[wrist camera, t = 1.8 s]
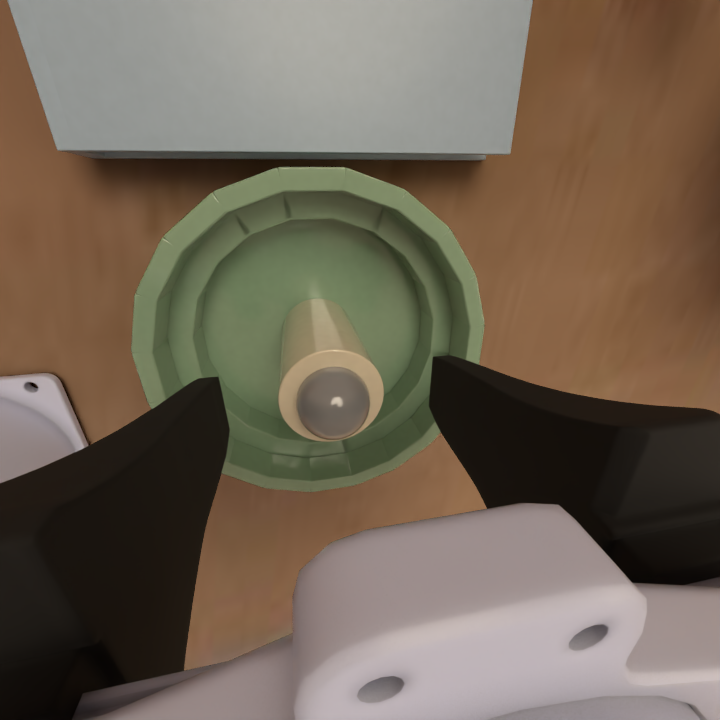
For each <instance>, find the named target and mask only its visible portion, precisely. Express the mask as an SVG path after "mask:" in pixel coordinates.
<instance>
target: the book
mask: <svg viewBox="0 0 720 720" xmlns="http://www.w3.org/2000/svg"><path fill="white" fill-rule="evenodd" d="M532 2H533V0H8V3H9V6H10V9H11V12H12V15H13V18H14V21H15V24H16V27H17V30H18V33H19V36H20V39H21V42H22V45H23V48H24V51H25V54H26V57H27V60H28V64H29V67H30V70H31V73H32V76H33V79H34V82H35V85H36V88H37V91H38V94H39V97H40V100H41V103H42V106H43V109H44V112H45V115H46V118H47V121H48V124H49V127H50V130H51V133H52V136H53V139H54V142H55V145H56V148H57V150H58V151H63V152H68V153H72V154H76V155H81V156H85V157H89V158H99V159H296V160H485V159H486V155H509V154H510V152H511V145H512V138H513V131H514V124H515V118H516V111H517V104H518V97H519V91H520V84H521V77H522V70H523V63H524V57H525V50H526V43H527V36H528V29H529V23H530V16H531V9H532Z"/></svg>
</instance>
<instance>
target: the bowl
mask: <svg viewBox="0 0 720 720" xmlns="http://www.w3.org/2000/svg"><path fill="white" fill-rule="evenodd" d="M475 275H476V274H475V272H474V270H473V268H472V266H471V264H470V263H469V261H468V259H467V257H466V256H465V254H464V252H463V250H462V248H461V247H460V245H459V243H458V241H457V239H456V238H455V236H454V234H453V232H452V230H451V229H450V228H449V227H448V226H447V225H446V224H445V223H444V222H443V221H441V220H440V219H439V218H438V217H437V216H436V215H434V214H433V213H432V212H431V211H430V210H429V209H428V208H426V207H425V206H424V205H423V204H422V203H421V202H419V201H418V200H417V199H416V198H415V197H414V196H412V195H411V194H410V193H409V192H408V191H405V189H403V188H400V187H398V186H395V185H392V184H389V183H387V182H384V181H381V180H379V179H376V178H373V177H371V176H368V175H365V174H363V173H360V172H357V171H355V170H352V169H349V168H345V167H278V168H273V169H271V170H268V171H265V172H263V173H260V174H257V175H255V176H252V177H249V178H247V179H244V180H241V181H239V182H236V183H233V184H231V185H228V186H225V187H223V188H220V189H217V190H215V191H213V193H210V194H209V195H208V196H207V197H206V198H204V199H203V200H202V201H201V202H200V203H199V204H198V205H197V206H196V207H194V208H193V209H192V210H191V211H190V212H189V213H188V214H187V215H186V216H184V217H183V218H182V219H181V220H180V221H179V222H178V223H177V224H176V225H174V226H173V227H172V228H171V229H170V230H169V231H168V232H167V233H166V234H164V236H163V238H161V240H160V242H159V244H158V246H157V248H156V250H155V252H154V254H153V256H152V259H151V261H150V263H149V265H148V267H147V269H146V271H145V273H144V275H143V277H142V279H141V281H140V283H139V285H138V287H137V290H136V292H135V293H136V294H135V295H134V310H133V327H132V343H131V352H132V356H133V359H134V362H135V365H136V368H137V371H138V374H139V377H140V380H141V384H142V387H143V390H144V393H145V396H146V399H147V402H148V403H149V406H150V407H151V408H152V409H153V408H155V407H156V406H158V405H159V404H160V403H162V402H163V401H165V400H166V399H168V398H169V397H170V396H172V395H173V394H175V393H176V392H178V391H179V390H180V389H182V388H183V387H185V386H186V385H188V384H189V383H191V382H192V381H194V380H196V379H198V378H207V377H218V376H219V381H220V385H221V390H222V395H223V399H224V404H225V409H226V414H227V418H228V423H229V428H230V432H229V440H228V448H227V454H226V459H225V462H224V466H223V469H222V474H225V475H228V476H231V477H233V478H236V479H239V480H242V481H245V482H248V483H251V484H253V485H256V486H259V487H262V488H267V489H278V490H290V491H302V492H316V491H323V490H329V489H336V488H343V487H349V486H354V485H357V484H360V483H362V482H365V481H367V480H370V479H372V478H375V477H377V476H380V475H382V474H385V473H387V472H390V471H392V470H394V469H395V468H397V467H399V466H400V465H402V464H403V463H404V462H406V461H407V460H409V459H410V458H411V457H413V456H414V455H416V454H417V453H418V452H420V451H421V450H423V449H424V448H425V447H427V446H428V445H430V443H432V442H433V441H434V439H435V438H436V437H437V436H438V435H439V434H440V432H441V431H440V430H439V428H438V426H437V424H436V422H435V420H434V418H433V415H432V413H431V411H430V408H429V395H430V383H431V371H432V359H433V357H434V356H445V355H451V356H455V357H459V358H462V359H465V360H468V361H470V362H473V363H476V364H478V365H479V361H480V354H481V347H482V340H483V333H484V327H485V324H484V317H483V311H482V305H481V299H480V294H479V288H478V282H477V277H476V276H475ZM309 299H327V300H330V301H333V302H335V303H337V304H338V305H340V306H341V307H342V308H343V309H344V310H345V311H346V312H347V314H348V315H349V317H350V319H351V321H352V323H353V325H354V326H355V328H356V330H357V332H358V334H359V336H360V338H361V340H362V342H363V343H364V345H365V347H366V349H367V351H368V353H369V355H370V357H371V359H372V360H373V362H374V364H375V366H376V368H377V370H378V372H379V374H380V376H381V378H382V381H383V386H384V398H383V402H382V406H381V408H380V411H379V412H378V414H377V416H376V417H375V419H374V420H373V421H372V422H371V423H370V425H369V426H367V427H366V428H365V429H364V430H362V431H361V432H359V433H358V434H356V435H354V436H352V437H349V438H346V439H343V440H339V441H331V442H323V441H316V440H312V439H308V438H306V437H303V436H302V435H300V434H298V433H297V432H295V431H294V430H293V429H292V428H291V427H290V426H289V425H288V424H287V423H286V422H285V420H284V418H283V417H282V415H281V412H280V409H279V405H278V389H279V372H280V355H281V338H282V326H283V322H284V320H285V318H286V316H287V314H288V313H289V312H290V310H291V309H293V308H294V307H295V306H296V305H298V304H299V303H301V302H303V301H306V300H309Z"/></svg>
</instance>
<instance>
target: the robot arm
mask: <svg viewBox="0 0 720 720" xmlns="http://www.w3.org/2000/svg"><path fill="white" fill-rule="evenodd" d="M30 382H32V383H34V384H36V385H37V386H38V388H35V387H33V386H32V385H31V384H30ZM429 408H430V411H431V413H432V415H433V418H434V420H435V422H436V424H437V426H438V428H439V430H440V431H441V433H442V435H443V436H444V438H445V439H446V441H447V442H448V444H449V445H450V447H451V448H452V450H453V451H454V453H455V455H456V456H457V458H458V459H459V461H460V462H461V464H462V465H463V467H464V468H465V470H466V471H467V473H468V474H469V476H470V477H471V479H472V481H473V482H474V484H475V486H476V487H477V489H478V491H479V493H480V495H481V497H482V499H483V501H484V503H485V505H486V507H487V509H483V510H477V511H472V512H466V513H460V514H454V515H448V516H443V517H437V518H431V519H425V520H420V521H414V522H408V523H402V524H396V525H391V526H385V527H379V528H373V529H367V530H364V531H361V532H358V533H355V534H353V535H350V536H347V537H344V538H342V539H339V540H336V541H333V542H331V543H330V544H328V545H327V546H326V547H325V548H324V549H323V550H322V551H321V552H320V553H318V554H317V555H316V556H315V557H314V558H313V559H312V560H311V561H310V562H308V563H307V564H306V565H305V566H304V567H303V568H302V569H301V570H300V571H299V575H298V578H297V582H296V586H295V590H294V594H293V633H292V634H289V635H287V636H285V637H282V638H280V639H278V640H275V641H273V642H271V643H269V644H266V645H264V646H262V647H259V648H257V649H255V650H252V651H250V652H248V653H246V654H243V655H241V656H239V657H236V658H234V659H232V660H229V661H227V662H222V663H218V664H213V665H209V666H204V667H200V668H195V669H190V670H186V671H184V663H185V655H186V647H187V639H188V632H189V625H190V618H191V610H192V603H193V597H194V591H195V584H196V578H197V572H198V565H199V560H200V554H201V549H202V543H203V538H204V532H205V528H206V524H207V520H208V516H209V513H210V510H211V506H212V503H213V499H214V496H215V493H216V489H217V486H218V483H219V479H220V476H221V473H222V469H223V466H224V462H225V459H226V454H227V448H228V440H229V432H230V428H229V423H228V418H227V414H226V409H225V404H224V399H223V395H222V390H221V385H220V381H219V376H218V377H207V378H198V379H196V380H194V381H192V382H191V383H189V384H188V385H186V386H185V387H183V388H182V389H180V390H179V391H178V392H176V393H175V394H173V395H172V396H170V397H169V398H168V399H166V400H165V401H163V402H162V403H160V404H159V405H158V406H156V407H155V408H153V409H151V410H150V411H148V412H147V413H145V414H144V415H142V416H140V417H139V418H137V419H136V420H134V421H133V422H131V423H129V424H128V425H126V426H124V427H123V428H121V429H119V430H118V431H116V432H114V433H112V434H110V435H109V436H107V437H105V438H103V439H101V440H99V441H97V442H95V443H93V444H91V445H88V443H87V441H86V438H85V436H84V434H83V431H82V429H81V427H80V425H79V422H78V420H77V418H76V415H75V413H74V411H73V409H72V406H71V404H70V402H69V399H68V397H67V395H66V392H65V390H64V388H63V386H62V383H61V381H60V380H59V378H58V377H56V376H55V375H53V374H50V373H38V374H26V375H14V376H3V377H0V720H720V414H718V413H716V412H714V411H711V410H707V409H700V408H685V407H669V406H654V405H643V404H635V403H626V402H618V401H611V400H604V399H598V398H592V397H587V396H581V395H576V394H571V393H567V392H562V391H558V390H554V389H550V388H546V387H543V386H539V385H535V384H532V383H529V382H526V381H523V380H519V379H516V378H513V377H510V376H508V375H505V374H502V373H499V372H497V371H494V370H491V369H489V368H486V367H483V366H481V365H478V364H476V363H473V362H470V361H468V360H465V359H462V358H459V357H455V356H451V355H445V356H434V357H433V359H432V371H431V383H430V395H429Z"/></svg>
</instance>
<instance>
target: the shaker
mask: <svg viewBox="0 0 720 720" xmlns="http://www.w3.org/2000/svg"><path fill="white" fill-rule="evenodd" d="M383 398H384V386H383V381H382V378H381V376H380V374H379V372H378V370H377V368H376V366H375V364H374V362H373V360H372V359H371V357H370V355H369V353H368V351H367V349H366V347H365V345H364V343H363V342H362V340H361V338H360V336H359V334H358V332H357V330H356V328H355V326H354V325H353V323H352V321H351V319H350V317H349V315H348V314H347V312H346V311H345V310H344V309H343V308H342V307H341V306H340V305H338V304H337V303H335V302H333V301H330V300H327V299H309V300H306V301H303V302H301V303H299V304H298V305H296V306H295V307H294V308H293V309H291V310H290V312H289V313H288V314H287V316H286V318H285V320H284V322H283V326H282V338H281V355H280V372H279V389H278V405H279V409H280V412H281V415H282V417H283V418H284V420H285V422H286V423H287V424H288V425H289V426H290V427H291V428H292V429H293V430H294V431H295V432H297V433H298V434H300V435H302V436H303V437H306V438H308V439H312V440H316V441H323V442H331V441H339V440H343V439H346V438H349V437H352V436H354V435H356V434H358V433H359V432H361V431H362V430H364V429H365V428H366V427H367V426H369V425H370V423H371V422H372V421H373V420H374V419H375V417H376V416H377V414H378V412H379V411H380V408H381V406H382V402H383Z"/></svg>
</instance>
